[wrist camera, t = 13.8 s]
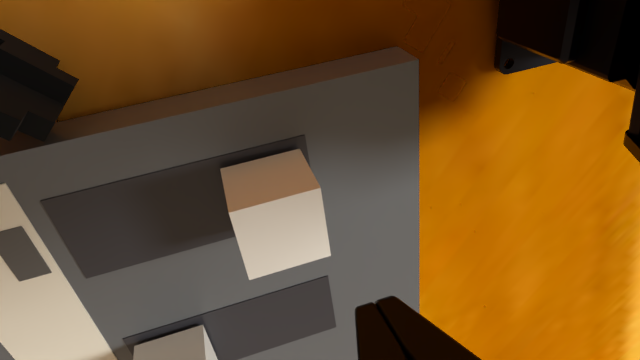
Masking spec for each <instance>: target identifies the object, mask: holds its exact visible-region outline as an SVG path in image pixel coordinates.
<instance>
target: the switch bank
mask: <svg viewBox="0 0 640 360" xmlns="http://www.w3.org/2000/svg"><path fill="white" fill-rule="evenodd" d="M296 149H300V150H301V152H302V154H303V156H304V158H305V159H306V161H307V163H308V165H309V167H310V169H311V171H312V172H313V174H314V176H315V178H316V180H317V182H318V184H319V186H320V187H321V193H322V200H323V206H324V213H325V219H326V226H327V232H328V239H329V245H330V252H331V256H328V257H325V258H322V259H318V260H315V261H312V262H308V263H305V264H302V265H299V266H295V267H292V268H289V269H285V270H282V271H279V272H275V273H272V274H269V275H265V276H262V277H259V278H255V279H252V280H249V278H248V274H247V271H246V268H245V265H244V261H243V258H242V255H241V251H240V248H239V245H238V242H237V238H236V235H235V232H234V229H233V225H232V222H231V219H230V216H229V212H228V207H227V202H226V197H225V191H224V186H223V181H222V176H221V171H220V169H221V168H225V167H229V166H233V165H237V164H241V163H245V162H249V161H253V160H257V159H261V158H264V157H268V156H272V155H276V154H280V153H284V152H288V151H292V150H296ZM388 296H396V297H397V298H399V299H400V300H401V301H403V302H404V303H405V304H407V305H408V306H409V307H411V308H412V309H414V310H415V311H416V312H418V313H419V59H418V58H416V57H414V56H413V55H411V54H409V53H408V52H406V51H404V50H403V49H401V48H400V47H398V46H396V47H392V48H387V49H383V50H378V51H374V52H369V53H365V54H360V55H356V56H351V57H347V58H343V59H338V60H334V61H329V62H325V63H320V64H316V65H311V66H307V67H302V68H298V69H293V70H289V71H284V72H280V73H275V74H271V75H266V76H262V77H257V78H253V79H248V80H244V81H239V82H235V83H231V84H226V85H222V86H217V87H213V88H208V89H204V90H199V91H195V92H190V93H186V94H181V95H177V96H172V97H168V98H163V99H159V100H154V101H150V102H145V103H141V104H136V105H132V106H128V107H123V108H119V109H114V110H110V111H105V112H101V113H96V114H92V115H87V116H83V117H78V118H74V119H69V120H65V121H60V122H56V123H55V124H54V125H53V127H52V129H51V131H50V132H49V134H48V136H47V138H46V140H45V141H44V142H43V141H40V140H38V139H36V138H33V137H31V136H29V135H26V134H24V133H22V132H20V131H17V132H16V133H15V135H14V136H13V138H12V139H11V141H8V140H5V139H3V138H1V137H0V360H133V355H134V346H136V345H139V344H142V343H146V342H149V341H152V340H155V339H158V338H162V337H165V336H168V335H171V334H174V333H178V332H181V331H184V330H187V329H190V328H194V327H197V326H200V325H203V326H204V328H205V331H206V333H207V335H208V338H209V340H210V342H211V345H212V347H213V350H214V352H215V354H216V357H217V359H218V360H358V355H357V340H356V326H355V308H356V307H357V306H360V305H363V304H366V303H369V302H373V303H375V301H376V300H378V299H381V298H385V297H388Z"/></svg>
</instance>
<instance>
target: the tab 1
mask: <svg viewBox="0 0 640 360" xmlns="http://www.w3.org/2000/svg"><path fill="white" fill-rule="evenodd" d="M133 360H218V359H217V357H216V354H215V352H214V350H213V347H212V345H211V342H210V340H209V338H208V335H207V333H206V331H205V328H204V326H203V325H200V326H197V327H194V328H190V329H187V330H184V331H181V332H178V333H174V334H171V335H168V336H165V337H162V338H158V339H155V340H152V341H149V342H146V343H142V344H139V345H136V346H134V355H133Z"/></svg>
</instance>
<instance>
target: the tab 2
mask: <svg viewBox="0 0 640 360" xmlns="http://www.w3.org/2000/svg"><path fill="white" fill-rule="evenodd" d="M220 171H221V176H222V181H223V186H224V191H225V197H226V202H227V207H228V212H229V216H230V219H231V222H232V225H233V229H234V232H235V235H236V238H237V242H238V245H239V248H240V251H241V255H242V258H243V261H244V265H245V268H246V271H247V274H248V278H249V280H252V279H255V278H259V277H262V276H265V275H269V274H272V273H275V272H279V271H282V270H285V269H289V268H292V267H295V266H299V265H302V264H305V263H308V262H312V261H315V260H318V259H322V258H325V257H328V256H331V252H330V245H329V239H328V232H327V226H326V219H325V213H324V206H323V200H322V193H321V187H320V186H319V184H318V182H317V180H316V178H315V176H314V174H313V172H312V171H311V169H310V167H309V165H308V163H307V161H306V159H305V158H304V156H303V154H302V152H301V150H300V149H296V150H292V151H288V152H284V153H280V154H276V155H272V156H268V157H264V158H261V159H257V160H253V161H249V162H245V163H241V164H237V165H233V166H229V167H225V168H221V169H220Z"/></svg>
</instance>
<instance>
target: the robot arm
mask: <svg viewBox="0 0 640 360" xmlns="http://www.w3.org/2000/svg"><path fill="white" fill-rule="evenodd" d="M507 59H509V60H508V63H507V64H506V65H505V66H504V64H505V62H506V60H507ZM555 62H559V63H561V64H566V65H568V66H571V67H573V68H576V69H578V70H581V71H583V72H586V73H588V74H591V75H593V76H596V77H598V78H601V79H603V80H606V81H608V82H612V83H615V84H617V85H620V86H622V87H625V88H627V89H630V90H632V91H635V95H634V101H633V107H632V113H631V119H630V125H629V130H627V131H626V132H625V137H624V146H625V147H626V148H627V149H628V150H629V151H630V152H631V153H632V155H633V156H634V157H635V158H636V159H637V160H638V161H639V162H640V0H500V1H499V12H498V22H497V40H496V51H495V61H494V66H495V69H496V70H497V71H499V72H501V73H503V74H510V73H514V72H518V71H522V70H527V69H531V68H535V67H539V66H543V65H547V64H551V63H555ZM355 326H356V340H357V355H358V360H481V359H480V358H479V357H477V356H476V355H475V354H473V353H472V352H470V351H469V350H468V349H466V348H465V347H464V346H462V345H461V344H460V343H458V342H457V341H456V340H454V339H453V338H452V337H450V336H449V335H447V334H446V333H445V332H443V331H442V330H441V329H439V328H438V327H437V326H435V325H434V324H433V323H431V322H430V321H428V320H427V319H426V318H424V317H423V316H422V315H420V314H419V313H418V312H416V311H415V310H414V309H412V308H411V307H409V306H408V305H407V304H405V303H404V302H403V301H401V300H400V299H399V298H397V297H396V296H388V297H385V298H381V299H378V300H376V301H375V303H373V302H369V303H366V304H363V305H360V306H357V307H356V308H355Z"/></svg>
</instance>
